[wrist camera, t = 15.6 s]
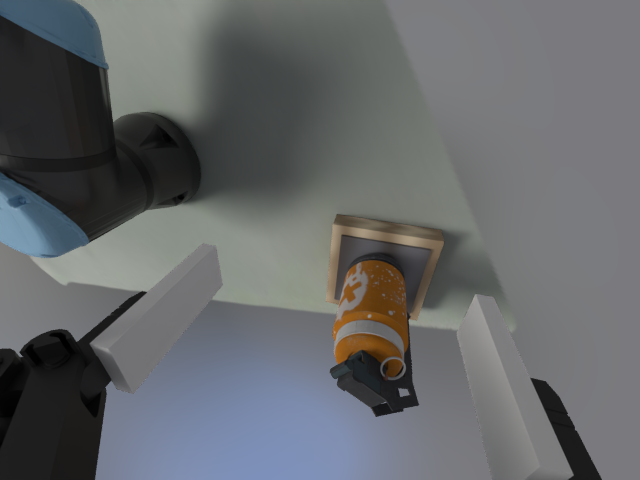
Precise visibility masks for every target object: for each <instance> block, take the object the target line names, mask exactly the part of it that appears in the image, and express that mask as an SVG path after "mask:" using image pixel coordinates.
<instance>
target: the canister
mask: <svg viewBox="0 0 640 480" xmlns="http://www.w3.org/2000/svg"><path fill="white" fill-rule="evenodd" d="M410 318H411V316H410V315H409V314H408V312H407V309H406V292H405V276H404V272H403V270H402V268H401V266H400V265H399V264H398V263H397V262H396V261H395V260H393V259H392V258H390V257H387V256H385V255H381V254H366V255H363V256H360V257H358V258H356V259H355V260H353V261H352V262H351V263H350V265H349V266H348V269H347V272H346V277H345V281H344V285H343V289H342V294H341V298H340V302H339V307H338V311H337V315H336V319H335V324H334V328H333V338H334V341H335V346H334V355H335V358H336V361H337V363H338V365H336V366H334V367H333V368H331V369H330V373H331V375H332V377H333V378H334V379H337V378H338V382H337V386H338V387H339V388H340V389H342V390H343V391H345V390H346V391H347V392H349V393H350V394H352V395H353V396H355V397H356V398H357V399H359V400H360V401H362V402H363V403H365V404H366V405H368V406H369V407H370V408H371V409H372V411H373V413H374V414H375V416H376V417H377V416H381V415H387V414H391V413H397V412H402V411H403V408H408V407H413V406H418V405H419V403H418V400H417V397H416V393H415V390H414V386H413V382H412V366H411V365H412V363H411V362H412V360H411V352H410V337H409V321H408V320H409V319H410ZM398 388H402V389H408V391H409V394H410V395H408V396H403V397H400V395H399V390H398ZM384 402H387V403H384ZM381 403H384V404H381Z"/></svg>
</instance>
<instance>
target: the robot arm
mask: <svg viewBox="0 0 640 480" xmlns="http://www.w3.org/2000/svg"><path fill="white" fill-rule="evenodd" d="M107 69H109V66H108V64H107V63H106V61H105V56H104V51H103V46H102V40H101V34H100V30H99V27H98V24H97V22H96V20H95V19H94V17H93V16H92V15H91V14H90V13H89V12H88V11H87V10H86V9H85V8H84V7H83V6H81V5H80V4H78V3H76V2H75V1H73V0H0V241H1V242H2V243H4V244H6V245H7V246H9V247H11V248H13V249H15V250H17V251H20V252H22V253H25V254H27V255H31V256H35V257H40V258H53V257H58V256H61V255H63V254H65V253H67V252H70V251H72V250H74V249H76V248H78V247H80V246H85V245H87V244H88V243H90V242H91V241H93V240H95V239H97V238H98V237H100V236H102V235H104V234H105V233H107V232H109V231H111V230H112V229H114V228H116V227H118V226H119V225H121V224H123V223H125V222H126V221H128V220H130V219H132V218H133V217H135V216H137V215H139V214H140V213H142V212H144V211H146V210H151V209H159V208H166V207H173V206H177V205H179V204H181V203H183V202H185V201H186V200H188V199H190V198H191V197H192V196H193V195H194V194H195V193H196V191H197V189H198V187H199V183H200V166H199V161H198V158H197V155H196V153H195V151H194V149H193V147H192V145H191V143H190V142H189V140H188V139H187V138H186V136H185V135H184V134H183V133H182V132H181V131H180V129H178V128H177V127H176V126H175V125H174V124H173V123H171V122H170V121H168V120H167V119H165V118H163V117H161V116H159V115H156V114H153V113H148V112H140V113H133V114H128V115H125V116H122V117H120V118H118V119H117V120H116V121H114V122H113V119H112V110H111V101H110V92H109V83H108V74H107ZM222 285H223V284H222V278H221V272H220V267H219V261H218V255H217V249H216V246H214V245H209V244H202V245H201V246H200V247H198V248H197V249H196V250H195V251H194V252H193V253H192V254H191V255H189V256H188V257H187V258H186V259H185V260H184V261H183V262H181V263H180V264H179V265H178V266H177V267H176V268H175V269H174V270H172V271H171V272H170V273H169V274H168V275H167V276H166V277H164V278H163V279H162V280H161V281H160V282H159V283H158V284H156V285H155V286H154V287H153V288H152V289H151V290H150V291H149V292H143V291H142V292H140V293H138V294H136V295H134V296H133V297H131V298H129V299H128V300H127V301H125V302H124V303H123V304H122V305H121V306H119V308H118V309H116V310H115V311H114V312H112V313H111V315H110V316H107V317H106V318H105V319H104V320H103V321H102V322H100V323H99V324H98V325H97V326H96V327H94V328H93V329H92V330H91V331H90V332H88V333H87V334H86V335H85V336H84V337H83V338H81V339H80V340H79V341H78V342H76V341H75V339H74V338H73V336H72V335H71V333H69V332H68V331H67V330H63V329H58V330H51V331H49V332H46V333H43V334H41V335H39V336H37V337H35V338H33V339H32V340H30V341H29V342H28V343H27V344H26V345H24V347H23V348H22V349H21V351H20V354H21V355H22V356H23V357H19V356H18V354H17V353H16V352H15V351H14V350H12V349H0V480H95V475H96V468H97V460H98V453H99V446H100V438H101V431H102V424H103V417H104V409H105V402H106V395H107V393H106V388H105V387H106V386H107V385H108V384H109V382H110V381H111V380H112V382H113V384H114V385H115V387H116V389H118V390H121V391H125V392H128V393H132V394H134V393H135V392H136V390H137V389H138V388H139V386H140V385H141V384H142V383H143V382H144V381H145V379H146V378H147V377H148V376H149V374H150V373H151V372H152V371H153V369H154V368H155V367H156V366H157V365H158V363H159V362H160V361H161V360H162V358H163V357H164V356H165V355H166V354H167V352H168V351H169V350H170V349H171V347H172V346H173V345H174V344H175V342H176V341H177V340H178V339H179V338H180V336H181V335H182V334H183V333H184V331H185V330H186V329H187V328H188V327H189V325H190V324H191V323H192V322H193V320H194V319H195V318H196V317H197V316H198V314H199V313H200V312H201V311H202V310H203V308H204V307H205V306H206V305H207V303H208V302H209V301H210V300H211V299H212V297H213V296H214V295H215V294H216V292H217V291H218V290H219V289H220V288H221V286H222ZM457 337H458V342H459V345H460V349H461V354H462V358H463V362H464V366H465V370H466V375H467V379H468V383H469V387H470V391H471V395H472V399H473V403H474V408H475V412H476V416H477V420H478V424H479V428H480V432H481V436H482V440H483V445H484V449H485V452H486V457H487V461H488V465H489V469H490V473H491V477H492V480H602V479H601V477H600V475H599V473H598V471H597V469H596V467H595V465H594V464H593V462H592V460H591V458H590V456H589V454H588V452H587V450H586V448H585V446H584V444H583V442H582V440H581V438H580V436H579V434H578V433H577V431H575V427H574V425H573V423H572V421H571V419H570V417H569V416H568V415H567V414H568V413H567V411H566V409H565V407H564V405H563V403H562V401H561V399H560V397H559V396H558V395H557V394H556V393H555V391H553V389H552V388H551V387H550V386H549V385H548V384H547V382H546V381H542V380H538V379H533V378H530V377H529V375H528V372H527V370H526V368H525V366H524V364H523V361H522V359H521V357H520V355H519V352H518V350H517V348H516V346H515V343H514V341H513V339H512V337H511V335H510V332H509V330H508V328H507V326H506V323H505V321H504V319H503V317H502V315H501V312H500V310H499V308H498V306H497V303H496V301H495V299H494V297H491V296H485V295H480V294H475V296H474V298H473V300H472V302H471V305H470V307H469V309H468V311H467V313H466V315H465V317H464V319H463V321H462V323H461V326H460V328H459V330H458V332H457Z"/></svg>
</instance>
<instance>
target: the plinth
mask: <svg viewBox="0 0 640 480" xmlns="http://www.w3.org/2000/svg"><path fill="white" fill-rule="evenodd" d="M443 245H444V239H443V235H442V232H441V230H437V229H430V228H424V227H417V226H411V225H404V224H397V223H391V222H384V221H378V220H371V219H364V218H358V217H351V216H345V215H338V214H337V216H336V218H335V221H334V223H333V229H332V241H331V252H330V263H329V274H328V285H327V296H326V302H329V303H334V304H339V302H340V298H341V294H342V289H343V285H344V281H345V277H346V272H347V269H348V266H349V265H350V263H351V262H352V261H353V260H355V259H356V258H358V257H360V256H363V255H366V254H381V255H385V256H387V257H390V258H392V259H393V260H395V261H396V262H397V263H398V264H399V265H400V266H401V268H402V270H403V272H404V276H405V292H406V309H407V312H408V314H409V315H410V316H411V318H410V319H412V320H416V321H417V319H418V316H419V313H420V311H421V308H422V305H423V302H424V299H425V296H426V293H427V290H428V288H429V285H430V282H431V279H432V276H433V273H434V270H435V267H436V265H437V262H438V259H439V256H440V253H441V250H442V247H443Z"/></svg>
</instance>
